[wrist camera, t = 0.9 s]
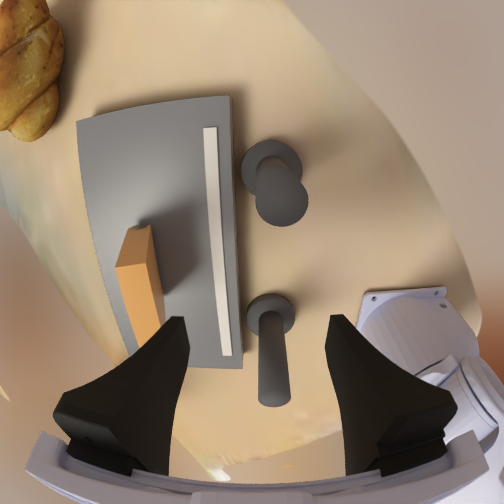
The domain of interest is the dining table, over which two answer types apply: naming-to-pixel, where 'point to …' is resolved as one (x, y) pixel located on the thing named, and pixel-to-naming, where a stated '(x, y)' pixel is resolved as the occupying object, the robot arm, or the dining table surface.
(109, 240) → the panel
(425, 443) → the robot arm
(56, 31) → the bread roll
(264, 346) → the cord post far
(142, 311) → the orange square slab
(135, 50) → the dining table surface
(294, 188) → the post
